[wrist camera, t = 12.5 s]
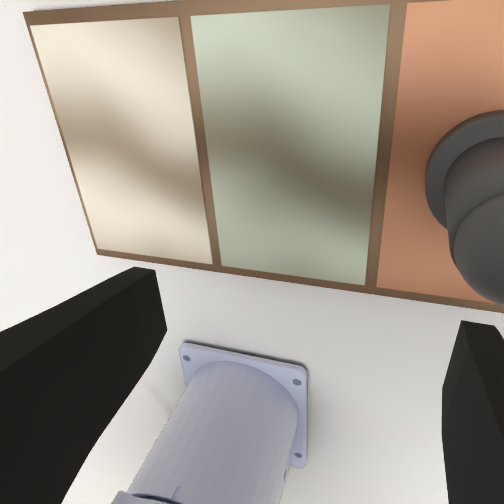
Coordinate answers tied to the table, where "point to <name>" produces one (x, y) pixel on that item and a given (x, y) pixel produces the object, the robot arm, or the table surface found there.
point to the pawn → (472, 199)
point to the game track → (272, 132)
